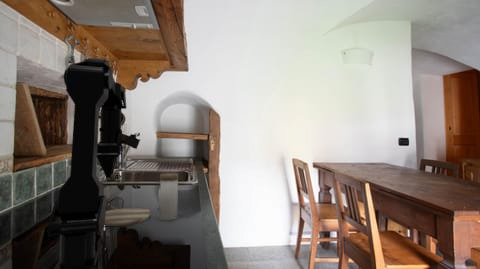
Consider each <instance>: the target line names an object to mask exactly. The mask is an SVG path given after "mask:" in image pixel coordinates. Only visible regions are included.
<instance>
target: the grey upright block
mask: <svg viewBox="0 0 480 269" xmlns="http://www.w3.org/2000/svg"><path fill="white" fill-rule="evenodd" d="M158 210H159V211H160V188H158Z"/></svg>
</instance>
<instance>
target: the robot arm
mask: <svg viewBox="0 0 480 269" xmlns="http://www.w3.org/2000/svg"><path fill="white" fill-rule="evenodd" d="M113 72H114V71H113V67H112V66H111V64H110V61H109V60H107V59H105V58H94V57H88V58H85V59H83V60H81V61H79V62H75V63H71V64H70V65H69V66H68V67H67V68H66V69H65V70H64V73H63V81H64V85H65V90H66V94H67V95H68V96H69V98H70V99H71V101H72V102H73V104H74V108H73V109H74V112H73V114H74V115H73V123H72V124H73V126H72V127H73V128H72V140H71V141H72V142H71V155H70V156H71V157H70V158H71V159H70V166H71V171H70V177H69V178H68V180H67V181H66V180H65V182H64V183H63V185H62V186H61V187H60V188H59V190H58V197H57V199H56V200H55V202H54V205H53V206H52V211H51V214H50V217H49V220H48V222H47V226H46V233H47V237H54V236H59V260H58V262H57V263H56V265H55V266H54V267H53V269H88V268H93V267H95V266H96V264H97V260H98V257H99V254H98V252H99V251H98V250H95V246H96V233H100V232H101V231H102V230H103V229H104V227H105V226H104V225H105V215H106V211H107V203H108V202H107V200H108V199H107V196H106V195H105V186H104V184H103V183H102V182H101V181H99V179H98V177H97V176H96V167H97V165H98V164H97V163H98V162H99V164H100V165H99V166H100V168H101V169H102V171H103V173H104V176H105V178H106V179H109V178H110V179H111V178H112V175H114V171H115V167H116V164H117V160H118V157H119V156H120V155H121V154H122V153H123V147H124V146H123V145H125V146H128V147H131V148H132V149H135V150H137V149H138V146H139V145H140V142H141V139H140V138H137V135H135V134H133V133H131V134H130V135H127V134H125V133H123V129H122V126H124V124H125V122H126V116H125V113H123V112H122V110H123V109H124V110H127V100H126V99H127V98H126V90H125V89H124V87H123V85H122V84H121V83H119V82H115V81H116V80H115V79H114V74H113ZM98 140H99V141H98ZM97 161H98V162H97ZM93 219H97V220H96V221H93Z"/></svg>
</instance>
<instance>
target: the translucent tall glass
mask: <svg viewBox="0 0 480 269" xmlns="http://www.w3.org/2000/svg"><path fill="white" fill-rule="evenodd" d="M159 180H160V187H159V189H160V210H159V220H161V221H173V220H176V219H177V218H178V207H179V206H178V205H179V204H178V198H179V197H178V192H179V189H178V187H179V186H178V185H179V183H178V182H179V181H178V180H179V173H176V172H174V173H173V172H171V173H170V172H169V173H168V172H166V173H161V174H159Z"/></svg>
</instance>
